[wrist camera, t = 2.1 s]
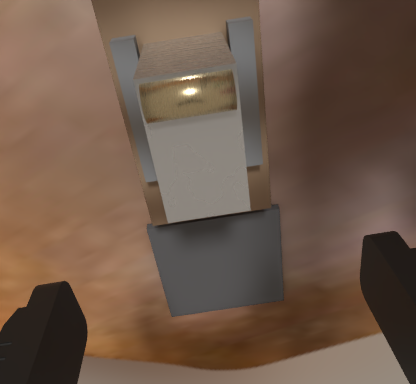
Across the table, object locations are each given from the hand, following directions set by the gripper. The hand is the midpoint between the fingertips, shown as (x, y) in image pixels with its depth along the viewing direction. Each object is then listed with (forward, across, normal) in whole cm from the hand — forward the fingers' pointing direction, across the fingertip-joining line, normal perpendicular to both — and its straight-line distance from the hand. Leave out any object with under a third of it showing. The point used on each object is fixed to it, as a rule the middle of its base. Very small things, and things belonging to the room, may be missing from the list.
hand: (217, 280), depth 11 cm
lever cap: (+14, 0, 0) cm, 14 cm away
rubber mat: (+17, 0, +15) cm, 22 cm away
